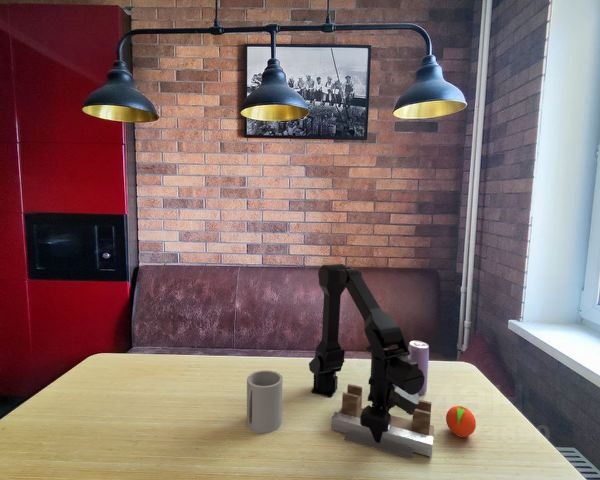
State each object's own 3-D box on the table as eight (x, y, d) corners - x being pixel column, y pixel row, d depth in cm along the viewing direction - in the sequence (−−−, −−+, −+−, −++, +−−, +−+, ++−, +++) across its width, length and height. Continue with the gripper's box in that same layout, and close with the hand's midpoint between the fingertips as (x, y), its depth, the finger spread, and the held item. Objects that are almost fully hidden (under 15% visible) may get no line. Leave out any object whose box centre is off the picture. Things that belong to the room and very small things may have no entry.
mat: (344, 439, 87) (344, 438, 87) (351, 423, 94) (351, 422, 94) (412, 459, 81) (412, 457, 81) (415, 440, 88) (415, 439, 87)
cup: (286, 416, 96) (287, 373, 95) (273, 436, 88) (274, 390, 87) (256, 409, 99) (256, 368, 98) (240, 428, 91) (240, 383, 90)
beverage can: (427, 397, 108) (430, 349, 106) (407, 394, 109) (409, 347, 107) (424, 387, 114) (427, 341, 112) (405, 384, 115) (407, 339, 113)
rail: (331, 429, 91) (331, 417, 90) (334, 422, 93) (335, 411, 93) (431, 457, 81) (432, 444, 81) (432, 448, 84) (433, 436, 84)
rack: (337, 417, 96) (338, 393, 95) (344, 406, 102) (345, 382, 101) (432, 442, 87) (434, 415, 86) (434, 428, 92) (435, 402, 92)
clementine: (472, 449, 85) (474, 421, 84) (441, 438, 88) (443, 411, 88) (476, 431, 92) (478, 405, 91) (447, 422, 95) (449, 397, 95)
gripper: (413, 401, 74) (409, 471, 76) (421, 365, 91) (417, 422, 93) (360, 389, 78) (358, 456, 80) (377, 356, 95) (374, 412, 97)
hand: (379, 435), depth 87 cm, fingers open, 5 cm apart
